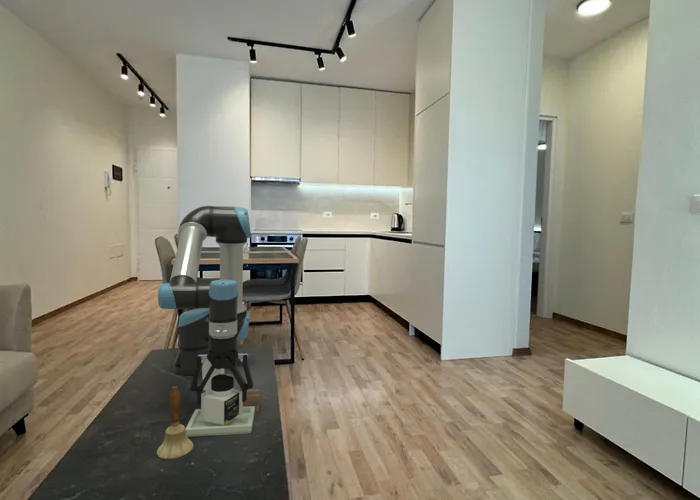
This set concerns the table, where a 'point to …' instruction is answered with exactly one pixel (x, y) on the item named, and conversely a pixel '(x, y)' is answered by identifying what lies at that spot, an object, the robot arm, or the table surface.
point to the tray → (235, 426)
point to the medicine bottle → (221, 400)
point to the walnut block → (252, 399)
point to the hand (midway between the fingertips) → (222, 413)
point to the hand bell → (175, 432)
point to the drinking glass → (206, 368)
